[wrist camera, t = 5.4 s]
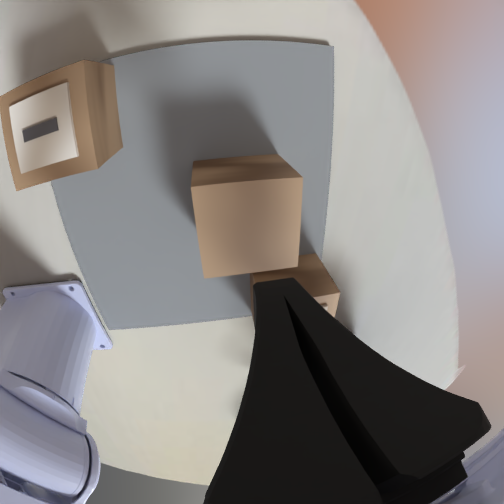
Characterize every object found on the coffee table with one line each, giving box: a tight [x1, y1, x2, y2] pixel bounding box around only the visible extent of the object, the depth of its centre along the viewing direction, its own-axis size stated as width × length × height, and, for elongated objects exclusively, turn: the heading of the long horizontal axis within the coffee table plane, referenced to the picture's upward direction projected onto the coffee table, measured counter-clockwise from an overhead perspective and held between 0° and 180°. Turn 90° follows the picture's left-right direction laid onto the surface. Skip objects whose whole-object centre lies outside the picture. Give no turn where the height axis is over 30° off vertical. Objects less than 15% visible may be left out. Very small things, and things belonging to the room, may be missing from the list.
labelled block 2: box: [250, 253, 340, 321], centre depth 20 cm, size 5×5×5 cm
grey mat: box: [51, 40, 334, 330], centre depth 17 cm, size 18×20×1 cm
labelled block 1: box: [0, 60, 123, 191], centre depth 10 cm, size 5×5×5 cm
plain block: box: [191, 154, 303, 279], centre depth 15 cm, size 5×5×4 cm
